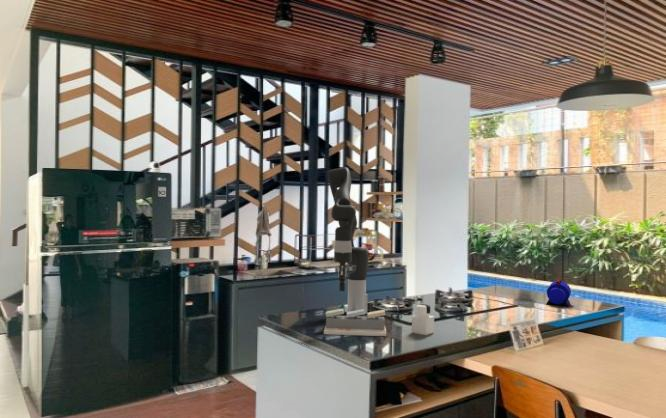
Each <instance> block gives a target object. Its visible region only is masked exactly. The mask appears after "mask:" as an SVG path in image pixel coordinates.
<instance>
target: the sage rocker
mask: <svg viewBox="0 0 666 418" xmlns="http://www.w3.org/2000/svg"><path fill="white" fill-rule="evenodd" d="M344 313H345V310H344V308H339V309H334V310H333V309H332V310H328V311H326V312H325V318H327V317H329V316H333V317H337V316H340V315H344Z"/></svg>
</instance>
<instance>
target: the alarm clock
mask: <svg viewBox="0 0 666 418" xmlns="http://www.w3.org/2000/svg"><path fill="white" fill-rule="evenodd" d="M571 292H572V290H571V287H570V285H569V284H568V283H567V282H565V281H562V278H560V277H558V278H557V280H555V281H552V282H551V283H550V284H549V286H548V287H547V289H546V296H547V298H548V300H547V301H546V305H548V304H554V305H564V306H566V307H568V308H570V306H571V305H572V303H571V301H570V300H569V299H570V296H571Z"/></svg>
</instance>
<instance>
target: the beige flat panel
mask: <svg viewBox="0 0 666 418" xmlns="http://www.w3.org/2000/svg"><path fill="white" fill-rule="evenodd" d="M366 314H367V317H368V318H372V317H375V318H376V319H378V318H379V317H384V316H386V311H385V309H380V310H374V311H369V312H368V311H367V313H366Z"/></svg>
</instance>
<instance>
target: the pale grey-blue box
mask: <svg viewBox="0 0 666 418" xmlns="http://www.w3.org/2000/svg"><path fill="white" fill-rule="evenodd" d="M345 316H347V317H353V316H354V317H355V318H357V317H358V316H365V314H364V309H361V310H356V311H350V312H347V311H346V315H345Z"/></svg>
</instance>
